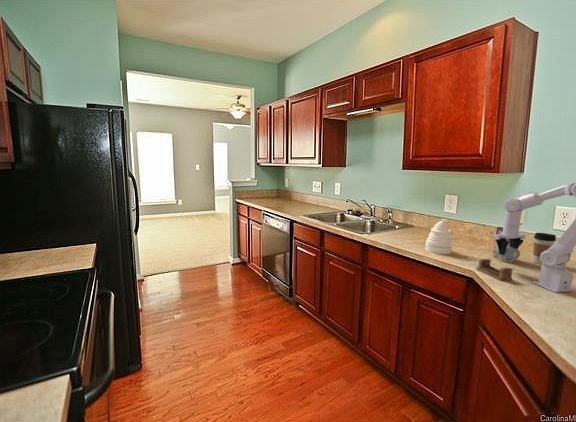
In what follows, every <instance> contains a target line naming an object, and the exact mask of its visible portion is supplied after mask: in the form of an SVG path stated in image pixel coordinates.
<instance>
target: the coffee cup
mask: <svg viewBox="0 0 576 422" xmlns="http://www.w3.org/2000/svg"><path fill="white" fill-rule="evenodd" d="M556 237H557V235H556V234H553V233H551V234H550V233H547V232H546V233H545V232H535V234H534V236H533V238H534V241H533V256H532V262H533V263H534V264H535V263H536V264H537V265H542V262H541V260H540V255H541V253H542V252H544V251H546V250H548V249H549V248H550V247H551V246H552V245H554V244H555V243H556V242H557V238H556Z"/></svg>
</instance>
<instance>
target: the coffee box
mask: <svg viewBox="0 0 576 422" xmlns="http://www.w3.org/2000/svg"><path fill="white" fill-rule="evenodd" d="M501 232H503V226H502V227H501V226H497V227H496V233H495V234H501ZM519 232H520V231H519ZM519 232H518V234H520V233H519ZM506 241H509V239H506ZM496 246H497V242H496V240H495V239H494V245H493V253H492V256H493V257H494V258H496V260H498V261H499V262H503V263H507V262H508V263H514V261H515V260H512V259H509V258H506V257H504V256H501V255H498V254H496V252H495V248H496ZM507 246H508V247H510V241H509V243H508V245H507Z"/></svg>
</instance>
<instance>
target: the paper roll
mask: <svg viewBox="0 0 576 422" xmlns="http://www.w3.org/2000/svg"><path fill="white" fill-rule="evenodd" d="M495 252H496V254H498V255H501V254H499V249H498V245H497V246H496V248H495ZM520 255H521V251H520V250H519V249H514V248H511V247H508V246H507V247H506V251H505V254H504V255H501V256H504V257H506V258H509V259H512V260H514V261H516V260H518V259H519V257H520Z"/></svg>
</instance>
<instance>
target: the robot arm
mask: <svg viewBox="0 0 576 422" xmlns="http://www.w3.org/2000/svg"><path fill="white" fill-rule="evenodd" d="M527 193H528V194H523V195H517V196H516V198H513V197H512V198H509V199H507V200H505V201H504V203H503V207H504V209H505V214H504V220H503V226H502V227H503V232H501V234H496V233H495V234H494V235H493V240H494V241H495V240H496V242H497V245H498V249H499V254H501V255H504V254H505V251H506V247H507V245H508V243H509V241H510V247H511V248H514V249H517V250H519V248H520V246H521V245H522V244H523V243H524V240H525V239H526V234H525V233H518V232H520V226H521V225H520V224H521V219H522V214H523V211H524V210H526V209H530V208H531V209H532V208H533V207H537V206H541V205H542V204H544V201H547V200H551V199H555V198H560V197H562V196H569V197H570V196H573V197H574V198H575V199H576V182H572V183H568V184H564V185H561V186H558V187H555V188H553V189H549V190H547V191H544V192H538V191H529V192H527ZM506 239H509V241H506ZM575 247H576V218H574V220H573V221H572V222H571V224H570V225H569V226H568V227H567V229H566V230H565V231H564V232H563V234H562V235H561V236H560V237H559V239H558V240H556V241H555V242H554V245H552V246H551V247H550V248H549V249H548V250H546V251H544V252H542V253H541V255H540V260H541V262H542V264H541V268H540V273H539V278H538V281H532V284H535V285H537V286H539V287H542V288H544V289H547V290H549V291H551V292H554V293H565V292H572V288H571V287H572V283H573V277H574V275H573V273H572V272H571V271H570V270H568V269H567V268H566V266H567V265H566V264H567V263H568V262H570V260H571V256H572V253H573V252H574V248H575Z"/></svg>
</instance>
